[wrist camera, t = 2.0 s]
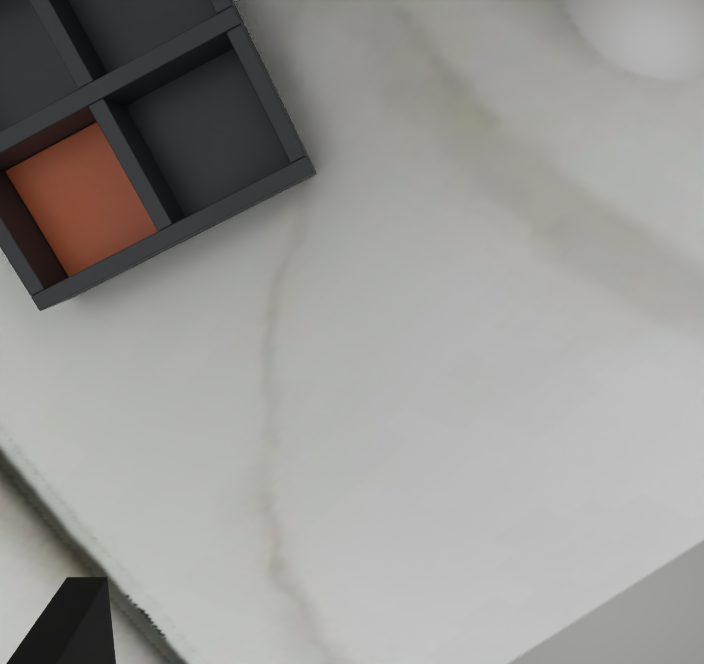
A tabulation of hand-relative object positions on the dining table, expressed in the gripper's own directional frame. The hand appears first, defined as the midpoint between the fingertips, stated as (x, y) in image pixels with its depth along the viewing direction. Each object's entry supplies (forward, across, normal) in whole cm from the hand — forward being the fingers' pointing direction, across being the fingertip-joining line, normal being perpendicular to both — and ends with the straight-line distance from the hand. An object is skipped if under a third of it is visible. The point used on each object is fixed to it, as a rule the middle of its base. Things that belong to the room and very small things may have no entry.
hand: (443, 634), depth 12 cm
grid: (+22, -13, +12) cm, 29 cm away
